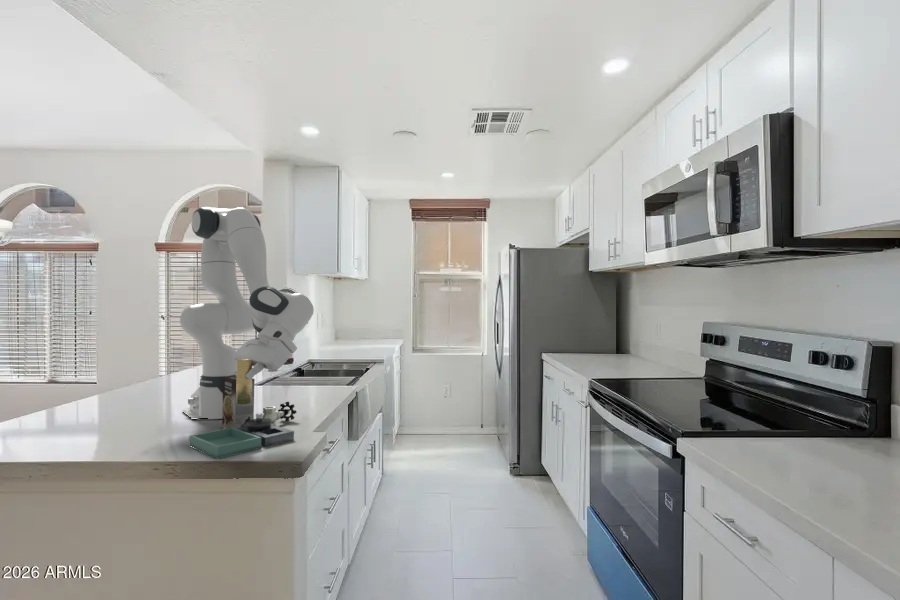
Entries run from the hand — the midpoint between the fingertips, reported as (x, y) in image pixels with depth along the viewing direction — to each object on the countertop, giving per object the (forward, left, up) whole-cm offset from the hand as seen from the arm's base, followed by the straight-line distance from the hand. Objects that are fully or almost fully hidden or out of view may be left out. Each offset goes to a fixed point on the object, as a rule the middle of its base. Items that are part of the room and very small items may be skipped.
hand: (241, 376), depth 137 cm
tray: (-1, -4, -19) cm, 20 cm away
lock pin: (0, +1, -7) cm, 7 cm away
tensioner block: (-1, +8, -19) cm, 21 cm away
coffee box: (-17, +8, -19) cm, 27 cm away
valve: (-12, +19, -19) cm, 30 cm away
